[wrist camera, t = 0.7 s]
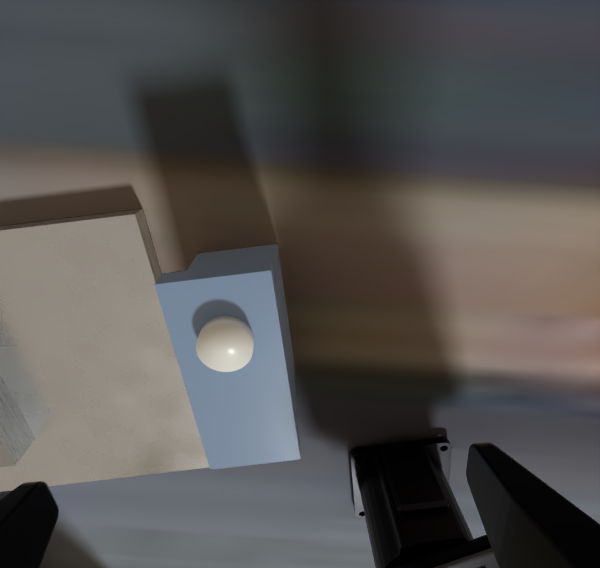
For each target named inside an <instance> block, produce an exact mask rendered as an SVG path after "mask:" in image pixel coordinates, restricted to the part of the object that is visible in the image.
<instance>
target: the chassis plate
mask: <svg viewBox="0 0 600 568" xmlns="http://www.w3.org/2000/svg"><path fill="white" fill-rule="evenodd" d="M161 275H162V274H161V271H160V267H159V264H158V260H157V257H156V253H155V250H154V247H153V243H152V240H151V236H150V233H149V229H148V226H147V222H146V219H145V216H144V212H143V209H139V210H130V211H122V212H114V213H106V214H98V215H89V216H81V217H73V218H65V219H57V220H48V221H40V222H32V223H24V224H16V225H8V226H0V492H4V491H12V490H14V489H15V488H16V487H18V486H19V485H21V484H23V483H26V482H36V481H44V482H45V483H47V485H48V486H54V485H63V484H71V483H80V482H88V481H97V480H105V479H114V478H122V477H131V476H139V475H148V474H156V473H165V472H173V471H182V470H190V469H199V468H207V467H209V464H208V461H207V457H206V454H205V451H204V448H203V444H202V441H201V438H200V434H199V431H198V428H197V424H196V421H195V418H194V414H193V411H192V408H191V404H190V401H189V398H188V394H187V391H186V388H185V385H184V381H183V378H182V375H181V371H180V368H179V365H178V361H177V358H176V355H175V351H174V348H173V345H172V341H171V338H170V335H169V331H168V328H167V325H166V322H165V318H164V315H163V312H162V308H161V305H160V302H159V298H158V295H157V292H156V288H155V285H154V284H155V283H156V282H157V280H158V279H159V278H160V276H161Z"/></svg>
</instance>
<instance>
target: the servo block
mask: <svg viewBox="0 0 600 568" xmlns="http://www.w3.org/2000/svg"><path fill="white" fill-rule="evenodd" d="M154 285H155V288H156V292H157V295H158V298H159V302H160V305H161V308H162V312H163V315H164V318H165V322H166V325H167V328H168V331H169V335H170V338H171V341H172V345H173V348H174V351H175V355H176V358H177V361H178V365H179V368H180V371H181V375H182V378H183V381H184V385H185V388H186V391H187V394H188V398H189V401H190V404H191V408H192V411H193V414H194V418H195V421H196V424H197V428H198V431H199V434H200V438H201V441H202V444H203V448H204V451H205V454H206V457H207V461H208V464H209V467H210V470H212V469H221V468H229V467H238V466H247V465H255V464H264V463H272V462H281V461H289V460H298V459H301V457H300V440H299V433H298V427H297V411H296V390H295V369H294V356H293V349H292V342H291V335H290V328H289V321H288V314H287V307H286V300H285V293H284V286H283V280H282V273H281V266H280V259H279V252H278V245H277V244H273V245H264V246H256V247H248V248H240V249H231V250H223V251H215V252H207V253H198V254H197V255H196V257H195V258H194V260H193V261H192V263H191V265H190V266H189V268H188V269H187V270H186V271H177V272H169V273H163V274H162V275H161V276H160V278H159V279H158V280H157V282H156V283H155V284H154Z"/></svg>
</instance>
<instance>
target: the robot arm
mask: <svg viewBox="0 0 600 568" xmlns="http://www.w3.org/2000/svg"><path fill="white" fill-rule="evenodd" d="M451 449H452V447H451V444H450V442H449V440H448V439H446V438H436V439H428V440H419V441H411V442H403V443H394V444H386V445H377V446H369V447H360V448H355V449H353V450H352V451H351V452H350V461H351V473H352V486H353V499H354V510H355V515H356V517H357V518H366V523H367V528H368V533H369V538H370V542H371V547H372V552H373V557H374V562H375V566H376V568H600V524H599V523H597V522H596V521H595V520H593V519H592V518H591V517H589V516H588V515H587V514H586V513H584V512H583V511H582V510H580V509H579V508H578V507H576V506H575V505H574V504H572V503H571V502H570V501H568V500H567V499H566V498H564V497H563V496H562V495H560V494H559V493H558V492H556V491H555V490H554V489H552V488H551V487H550V486H548V485H547V484H546V483H544V482H543V481H542V480H540V479H539V478H538V477H536V476H535V475H534V474H532V473H531V472H530V471H528V470H527V469H526V468H524V467H523V466H522V465H520V464H519V463H518V462H517V461H515V460H514V459H513V458H511V457H510V456H509V455H507V454H506V453H505V452H503V451H502V450H501V449H499V448H498V447H497V446H495V445H494V444H492V443H488V442H486V443H475V444H472V445H471V446H470V448H469V454H468V461H467V469H466V476H467V481H468V484H469V487H470V490H471V492H472V495H473V498H474V501H475V503H476V506H477V509H478V512H479V514H480V517H481V520H482V523H483V526H484V528H485V531H486V534H487V535H484V536H481V537H478V538H476V539H473V536H472V534H471V532H470V530H469V528H468V525H467V523H466V521H465V519H464V516H463V514H462V512H461V510H460V508H459V505H458V503H457V501H456V499H455V497H454V494H453V492H452V490H451V488H450V486H449V475H450V462H451ZM58 511H59V510H58V505H57V503H56V501H55V499H54V497H53V495H52V493H51V491H50V489H49V487H48V485H47V483H45V482H44V481H36V482H26V483H23V484H21V485H19V486H18V487H16V488H15V489H14V490H12V491H11V492H10V493H9V494H7V495H6V496H5V497H3V498H2V499H1V500H0V568H40V565H41V563H42V560H43V557H44V554H45V552H46V549H47V546H48V544H49V541H50V538H51V535H52V533H53V530H54V527H55V524H56V522H57V518H58Z"/></svg>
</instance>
